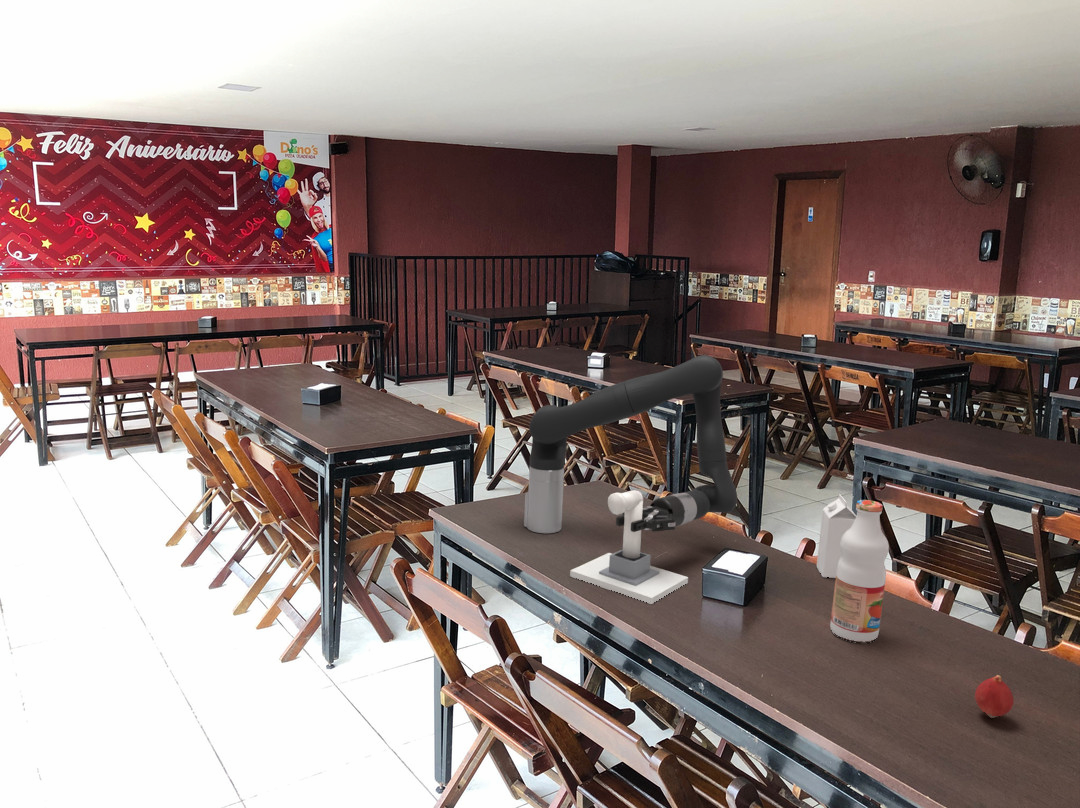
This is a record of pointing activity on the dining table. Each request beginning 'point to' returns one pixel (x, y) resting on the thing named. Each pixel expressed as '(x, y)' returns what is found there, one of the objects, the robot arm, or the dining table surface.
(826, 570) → the milk carton
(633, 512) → the elbow
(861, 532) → the fruit juice
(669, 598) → the dining table surface
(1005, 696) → the onion
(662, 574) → the duct
